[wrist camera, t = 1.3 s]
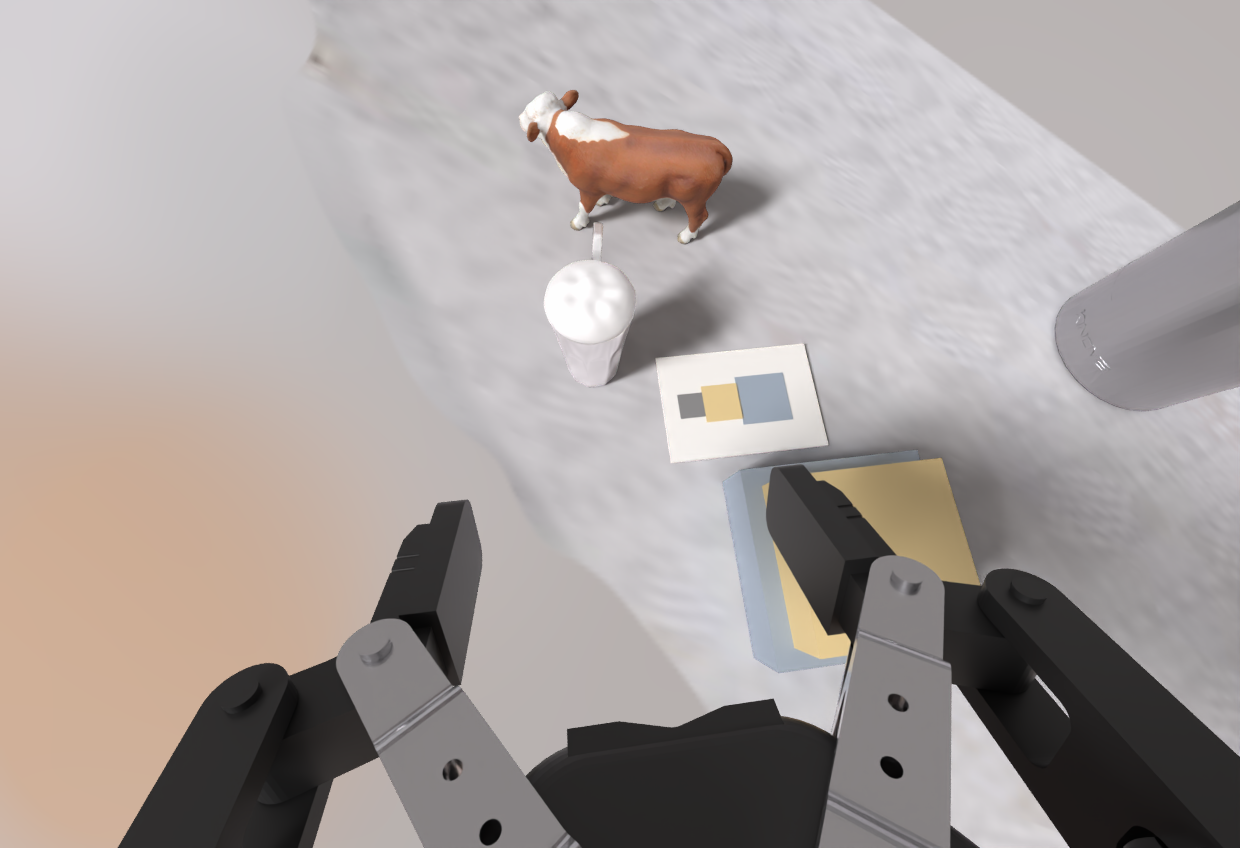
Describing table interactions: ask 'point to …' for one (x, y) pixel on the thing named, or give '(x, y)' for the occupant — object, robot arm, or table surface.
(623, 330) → the milkshake
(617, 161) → the bull figurine
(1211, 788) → the robot arm
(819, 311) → the table surface
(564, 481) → the table surface
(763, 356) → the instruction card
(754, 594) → the tower base
